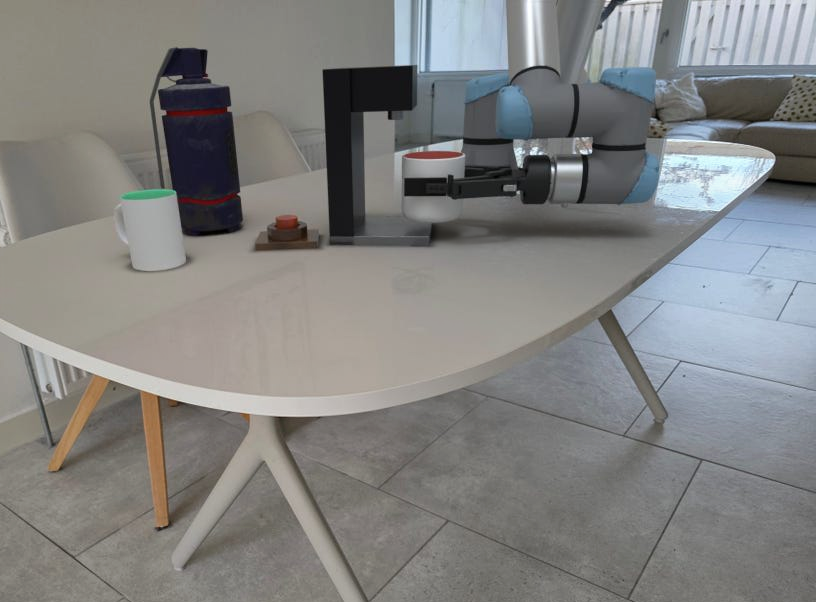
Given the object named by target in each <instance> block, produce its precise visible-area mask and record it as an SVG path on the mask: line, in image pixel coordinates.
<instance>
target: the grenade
mask: <svg viewBox="0 0 816 602" xmlns="http://www.w3.org/2000/svg"><path fill="white" fill-rule="evenodd" d="M208 53H209V50H208V49H207V48H206V49H205V48H197V47H181V48H179V47H178V46H176V47H171V48H168V49H167V52H166V54H165V56H164V58H163V60H162V63H161V65H160V67H159V69H158V71H157V74H156V76H155V77H156V78H155V80H154V82H153V83H154V84H153V87H152V91H151V94H150V98H149V108H150V115H151V124H152V131H153V138H154V147H155V153H156V161H157V169H158V175H159V183H160V184H159V185H160V187H161V188H160V189H165V188H166V186H165V181H164V180H165V179H164V171H163V164H162V155H161V148H160V141H159V133H158V126H157V124H158V123H157V118H156V110H155V102H154V101H155V99H156V95H157V94H158V101H159V107H160V111H165V112H166V113H165V114H163V115H161V122H162V128H163V135H164V142H165V149H166V154H167V163H168V167H169V168H168V169H169V175H170V181H171V190H174V191H176V195H177V202H178V208H179V215H180V222H181V229H184V230H185V231H186V234H187V235H188V236H192V237H199V236H200V235H201V232H213V231H214V232H215V231H220V230H221V231H222V230H227V232H228V233H234V232H236V231H238V230H239V229H240V228H239V227H240V226H239V224H241V223H242V222H243V221H244V216H243V207H242V196H241V195H239V194H240V193H241V184H240V175H239V164H238V155H237V146H236V145H237V144H236V138H235V137H236V136H235V126H234V116H233V112H232V111H228V108H230V107H232V98H231V88H230V86H229V85H220V84H217V83H213V82H212V79H210V78H208V77H209V74H208V73H207V67H208V66H207V64H208ZM179 76H181V78H178V79H172V78H171V77H179ZM161 78H166V79H167V80H169V82H170V81H171V82H172V83H175V84H173V85H170V86H167V87H165V88H160V89H159V85H160V83H161V82H160V81H161Z"/></svg>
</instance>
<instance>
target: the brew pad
mask: <svg viewBox="0 0 816 602" xmlns="http://www.w3.org/2000/svg"><path fill="white" fill-rule="evenodd" d="M319 238H320V230H319V228H318V229H317V228H316V229H308V223H307V222H304V221H300V220H298V227H294V228H284V229H282V228H276V221H275V222H272V223H269V224H268V225H267V227H266V230H264V231H262V230H261V231H260V232H259V235H258V237H257V238H256V240H255V243H254V246H255V247H254V248H255V251H256V252H259V251H282V250H283V251H285V250H286V251H287V250H309V249H310V250H311V249H312V250H313V249H314V250H315V249H318V248H319V240H320V239H319Z"/></svg>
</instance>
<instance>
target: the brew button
mask: <svg viewBox="0 0 816 602" xmlns="http://www.w3.org/2000/svg"><path fill="white" fill-rule="evenodd" d="M298 218H299V217H298V216H297V215H295V214H283V215H278V216H276V217H275V222H276V228H282V229H284V228H294V227H298V221H299V220H298Z"/></svg>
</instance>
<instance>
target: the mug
mask: <svg viewBox="0 0 816 602" xmlns="http://www.w3.org/2000/svg"><path fill="white" fill-rule="evenodd" d="M119 202H120V203H119V204H117V205H116V206H115V208H114V213H113V220H114V227H115V230H116V232H117V235H118V237H119V238H120V240H121V241H122V243H123V244H125V245H126V246H128V249H129V255H130V260H131V265H132V266H131V267H132V268H133V269H134V270H137V271H143V272H154V271H156V272H157V271H165V270H170V269H174V268H178V267H180V266H182V265H184V264H186V262H187V256H186V249H185V244H184V236H183V230H182V229H183V228H181V222H180V215H179V208H178V202H177V195H176V191H174V190H173V189H165V188H164V189H162V188H157V189H144V190H136V191H135V190H134V191H130V192H127V193H124V194H121V195H120V196H119Z"/></svg>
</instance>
